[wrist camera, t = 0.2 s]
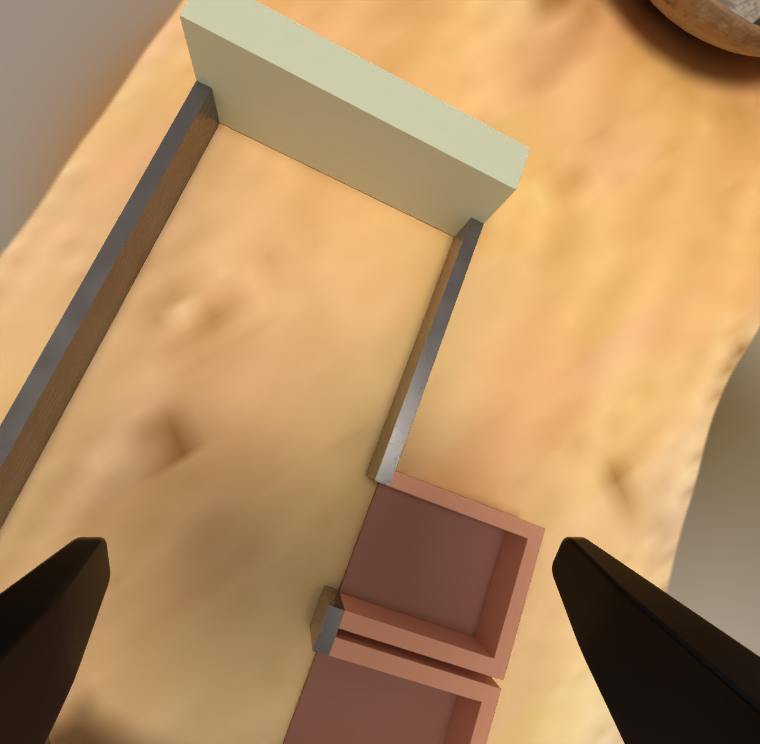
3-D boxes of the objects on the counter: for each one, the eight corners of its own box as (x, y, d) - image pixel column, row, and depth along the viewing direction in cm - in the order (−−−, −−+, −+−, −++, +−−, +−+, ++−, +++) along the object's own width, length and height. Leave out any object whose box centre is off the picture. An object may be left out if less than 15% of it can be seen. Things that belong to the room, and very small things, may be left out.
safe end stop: (465, 242, 26) (516, 189, 21) (206, 115, 24) (179, 15, 18) (477, 209, 27) (530, 148, 21) (224, 81, 24) (204, -27, 19)
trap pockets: (433, 817, 22) (452, 866, 19) (271, 776, 20) (268, 823, 18) (519, 518, 25) (545, 528, 22) (384, 466, 23) (394, 470, 21)
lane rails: (206, 953, 19) (194, 1032, 16) (-214, 877, 16) (-302, 955, 14) (465, 242, 26) (483, 223, 24) (206, 115, 24) (196, 80, 21)
